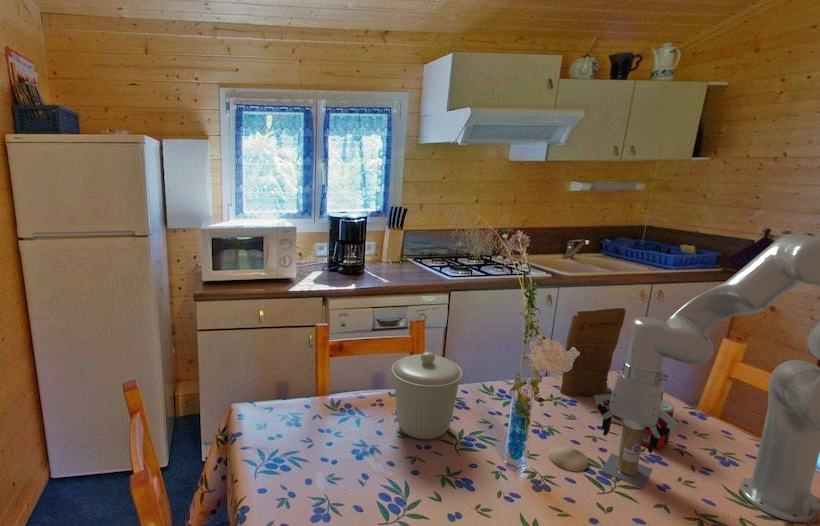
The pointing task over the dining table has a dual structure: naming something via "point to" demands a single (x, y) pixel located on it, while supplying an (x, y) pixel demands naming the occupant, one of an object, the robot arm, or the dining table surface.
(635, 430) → the sprinkles bottle
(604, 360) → the pancake mix bag
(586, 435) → the dining table surface
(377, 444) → the dining table surface
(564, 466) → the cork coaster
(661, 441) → the canned food
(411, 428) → the canister
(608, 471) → the tile
